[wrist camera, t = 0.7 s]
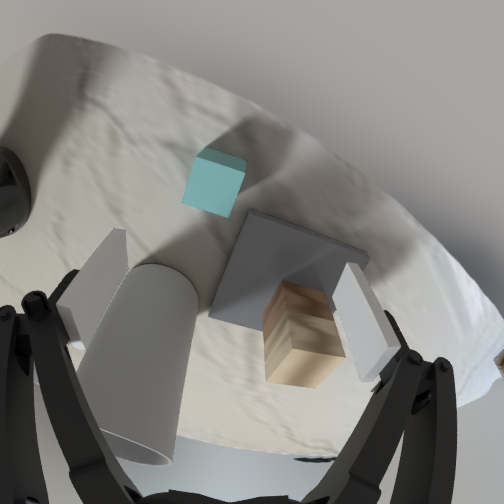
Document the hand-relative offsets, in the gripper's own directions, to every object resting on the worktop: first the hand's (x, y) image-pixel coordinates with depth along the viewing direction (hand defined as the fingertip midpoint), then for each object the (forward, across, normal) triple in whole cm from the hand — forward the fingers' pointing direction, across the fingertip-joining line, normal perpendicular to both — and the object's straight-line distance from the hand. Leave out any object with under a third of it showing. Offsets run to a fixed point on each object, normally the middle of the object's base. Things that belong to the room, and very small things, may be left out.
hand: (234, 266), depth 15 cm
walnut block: (+17, +10, -17) cm, 26 cm away
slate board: (+18, +9, -14) cm, 25 cm away
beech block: (+11, +10, -17) cm, 22 cm away
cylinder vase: (+19, -10, -20) cm, 29 cm away
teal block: (+18, -3, 0) cm, 19 cm away
